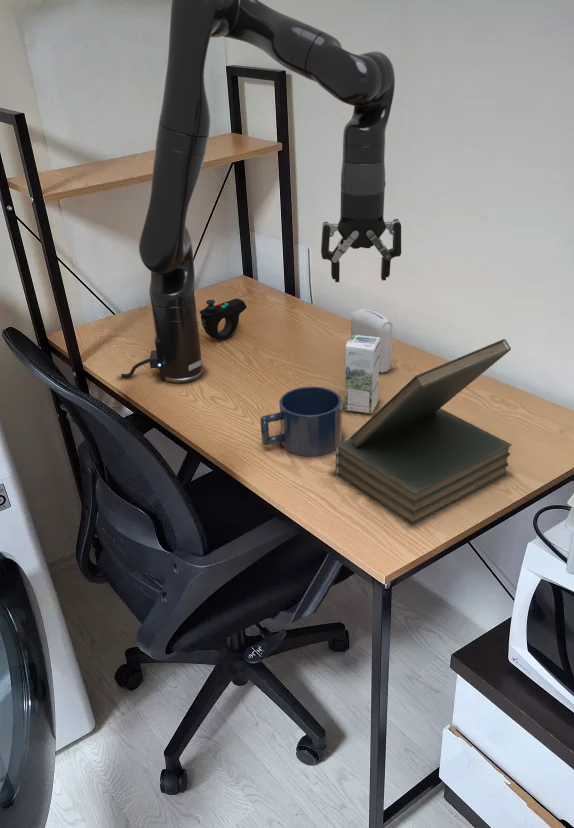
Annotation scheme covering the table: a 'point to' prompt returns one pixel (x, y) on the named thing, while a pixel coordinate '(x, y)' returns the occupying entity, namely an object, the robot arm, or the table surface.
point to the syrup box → (361, 373)
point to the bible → (425, 444)
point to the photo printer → (375, 333)
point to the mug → (307, 421)
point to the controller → (217, 313)
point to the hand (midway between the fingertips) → (360, 280)
